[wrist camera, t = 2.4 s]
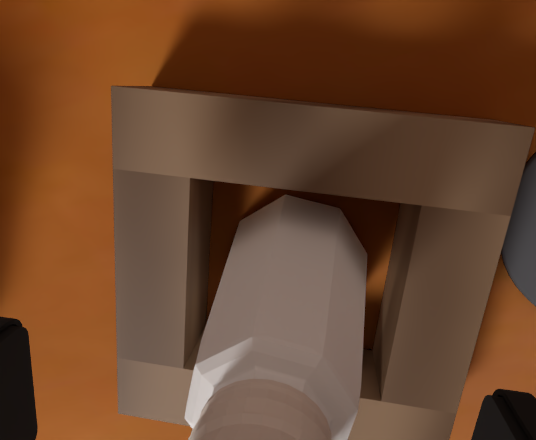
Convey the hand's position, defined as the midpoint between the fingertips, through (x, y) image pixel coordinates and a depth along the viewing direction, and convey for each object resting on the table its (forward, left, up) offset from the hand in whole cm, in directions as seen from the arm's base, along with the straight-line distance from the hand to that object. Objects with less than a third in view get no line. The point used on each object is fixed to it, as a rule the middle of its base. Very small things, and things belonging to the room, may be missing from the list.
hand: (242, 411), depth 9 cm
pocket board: (-1, 0, -9) cm, 9 cm away
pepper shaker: (-1, 0, -9) cm, 9 cm away
